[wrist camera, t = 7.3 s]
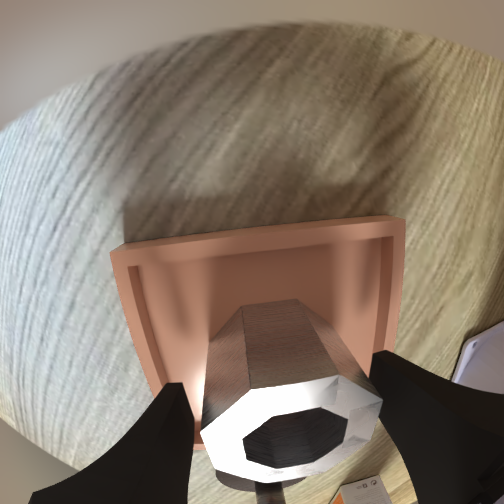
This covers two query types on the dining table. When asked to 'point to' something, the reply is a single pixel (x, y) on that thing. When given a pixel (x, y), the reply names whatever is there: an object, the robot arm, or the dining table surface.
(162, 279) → the tray
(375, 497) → the skincare box
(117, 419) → the dining table surface
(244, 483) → the stand
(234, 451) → the octagonal pencil cup
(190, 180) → the dining table surface
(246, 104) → the dining table surface
